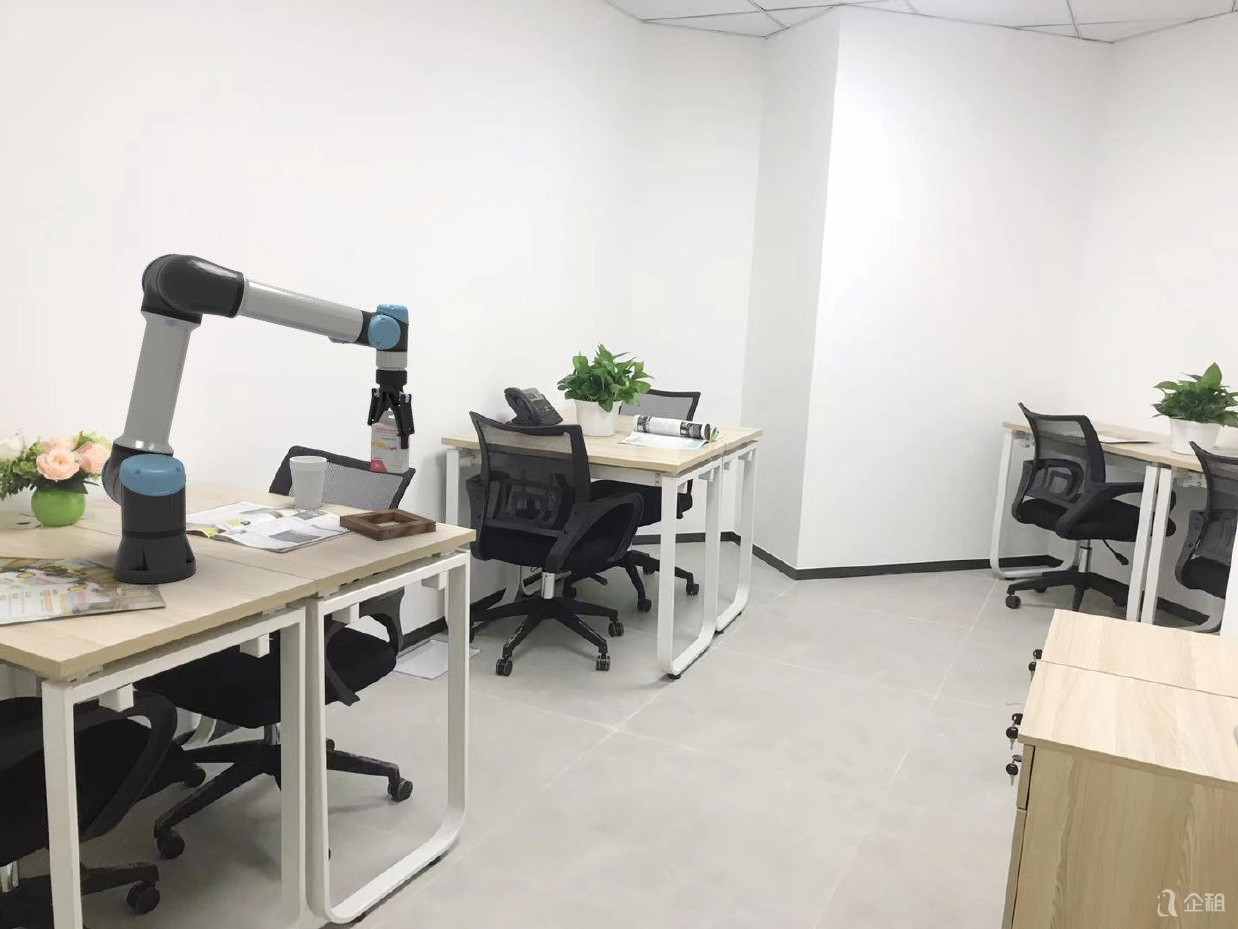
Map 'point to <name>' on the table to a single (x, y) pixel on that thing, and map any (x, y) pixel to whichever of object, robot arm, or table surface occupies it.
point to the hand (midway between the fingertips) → (389, 458)
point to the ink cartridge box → (386, 446)
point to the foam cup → (308, 480)
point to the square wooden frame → (407, 526)
